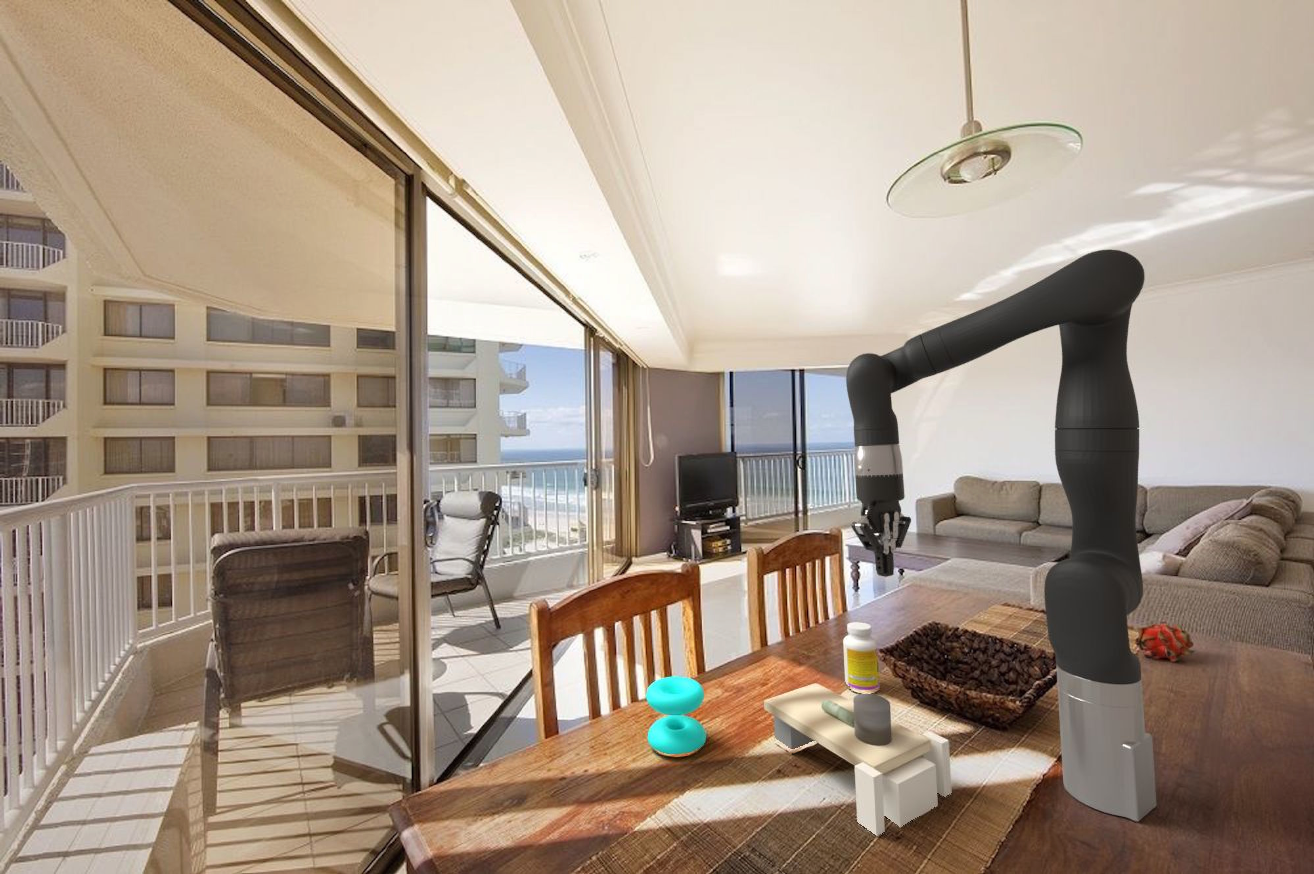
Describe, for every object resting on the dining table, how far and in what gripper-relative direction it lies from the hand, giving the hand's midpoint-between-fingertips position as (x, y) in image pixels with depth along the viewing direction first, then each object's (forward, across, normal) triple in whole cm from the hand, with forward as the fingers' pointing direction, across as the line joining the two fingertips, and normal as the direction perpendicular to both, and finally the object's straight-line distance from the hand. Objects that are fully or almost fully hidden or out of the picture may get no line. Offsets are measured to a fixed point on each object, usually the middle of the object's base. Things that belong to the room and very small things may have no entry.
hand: (885, 575), depth 89 cm
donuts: (+28, -30, +21) cm, 46 cm away
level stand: (+28, -12, 0) cm, 31 cm away
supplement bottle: (+28, +13, +17) cm, 36 cm away
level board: (+22, -12, +1) cm, 25 cm away
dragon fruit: (+29, +79, -11) cm, 84 cm away
